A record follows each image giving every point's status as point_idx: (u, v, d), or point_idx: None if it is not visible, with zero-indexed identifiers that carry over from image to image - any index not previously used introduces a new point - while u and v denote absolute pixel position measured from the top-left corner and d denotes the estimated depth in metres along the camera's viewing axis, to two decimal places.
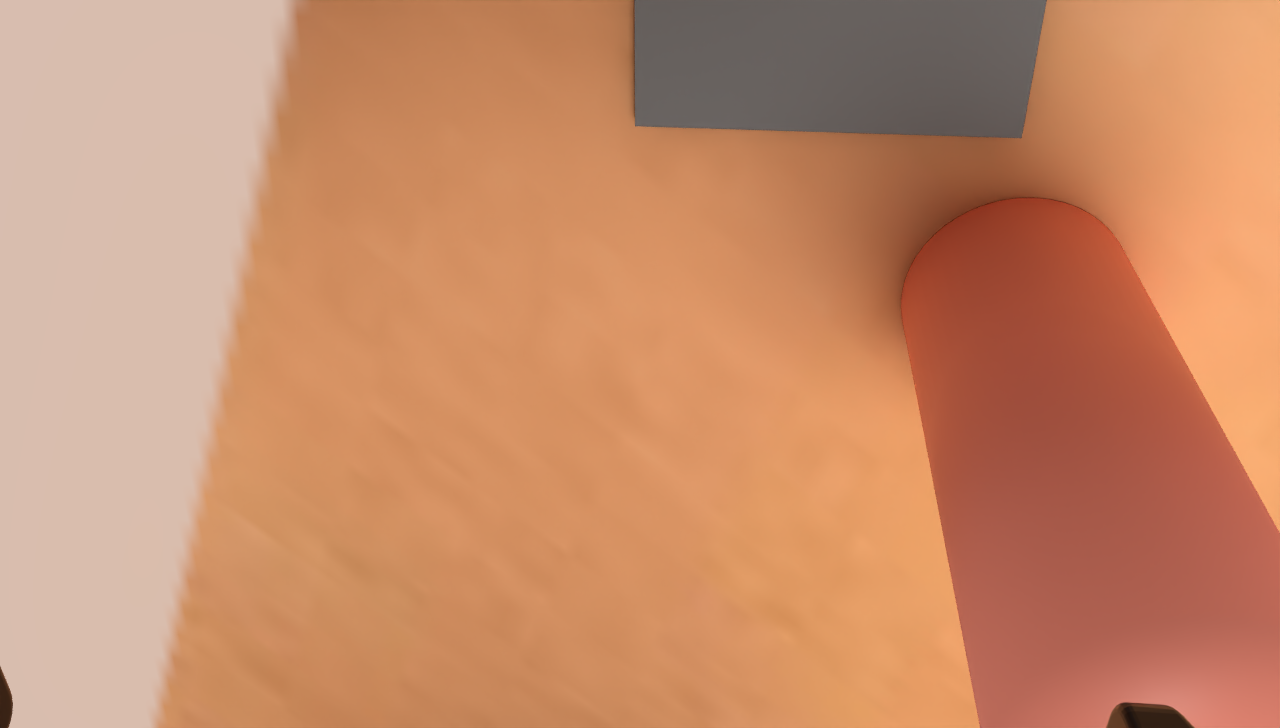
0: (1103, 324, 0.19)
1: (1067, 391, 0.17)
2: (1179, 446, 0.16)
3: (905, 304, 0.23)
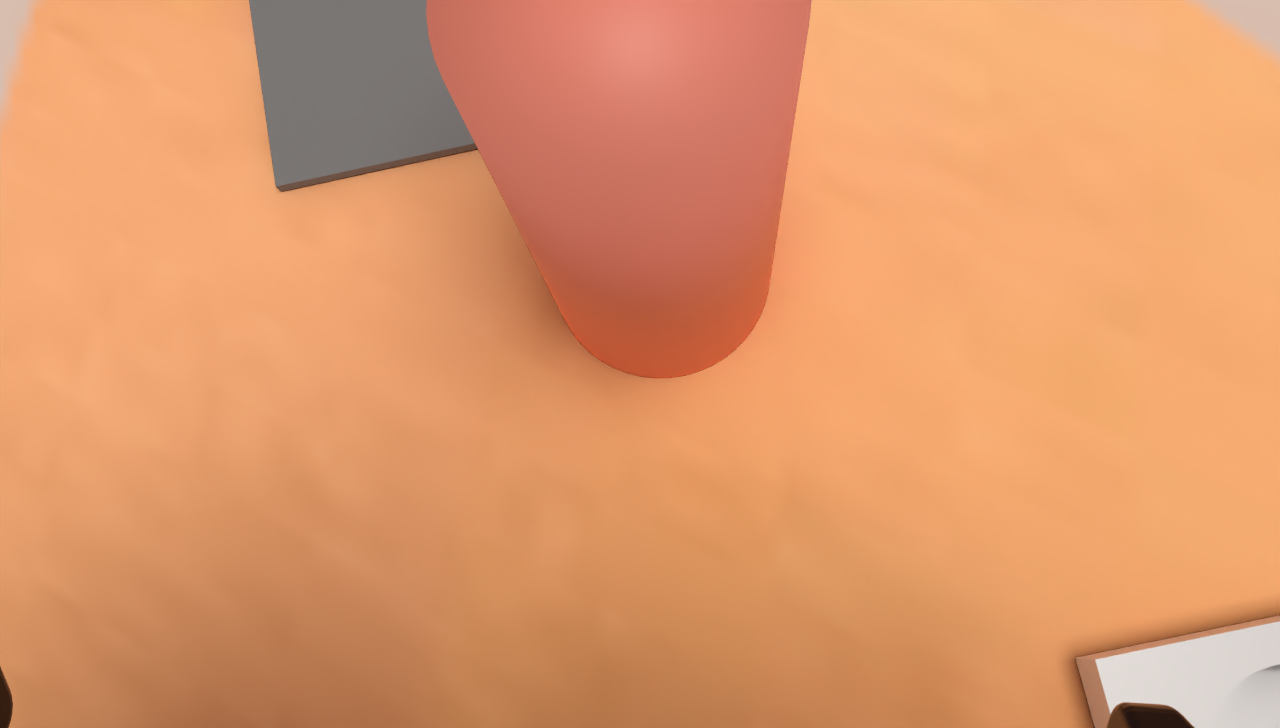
0: None
1: None
2: None
3: None
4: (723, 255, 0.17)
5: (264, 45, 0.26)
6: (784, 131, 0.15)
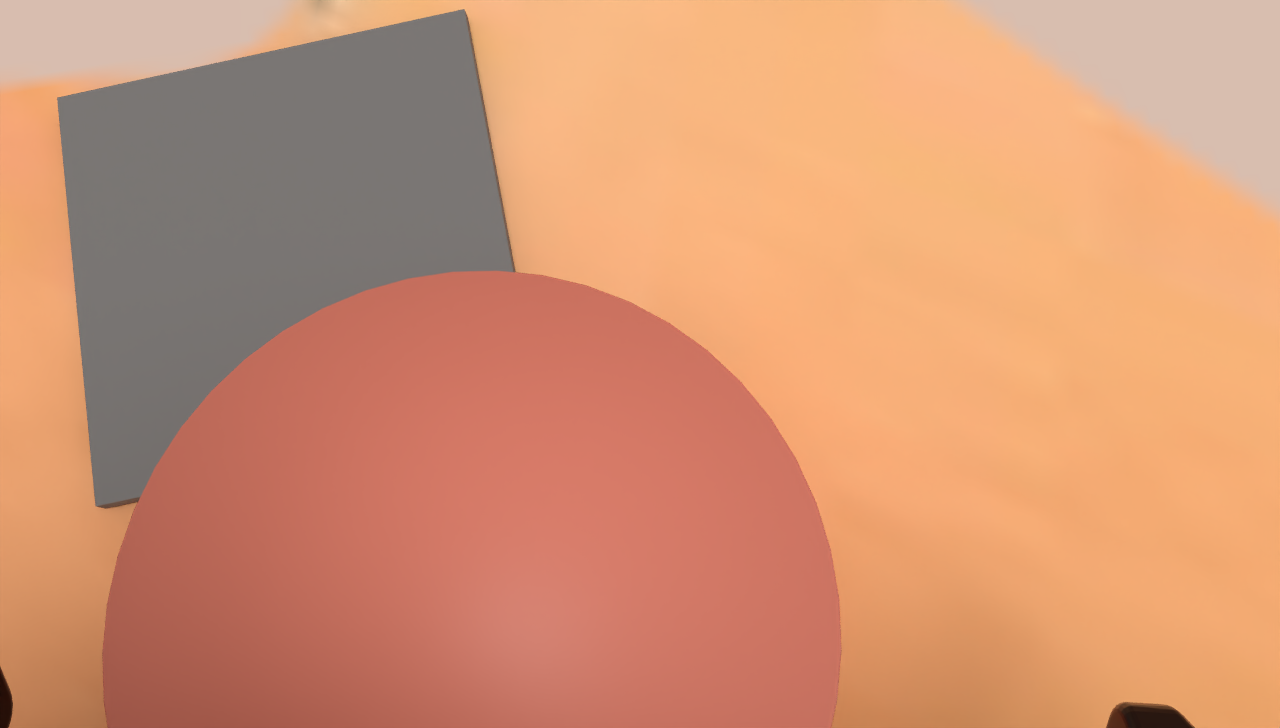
0: None
1: None
2: None
3: None
4: None
5: (88, 306, 0.19)
6: None
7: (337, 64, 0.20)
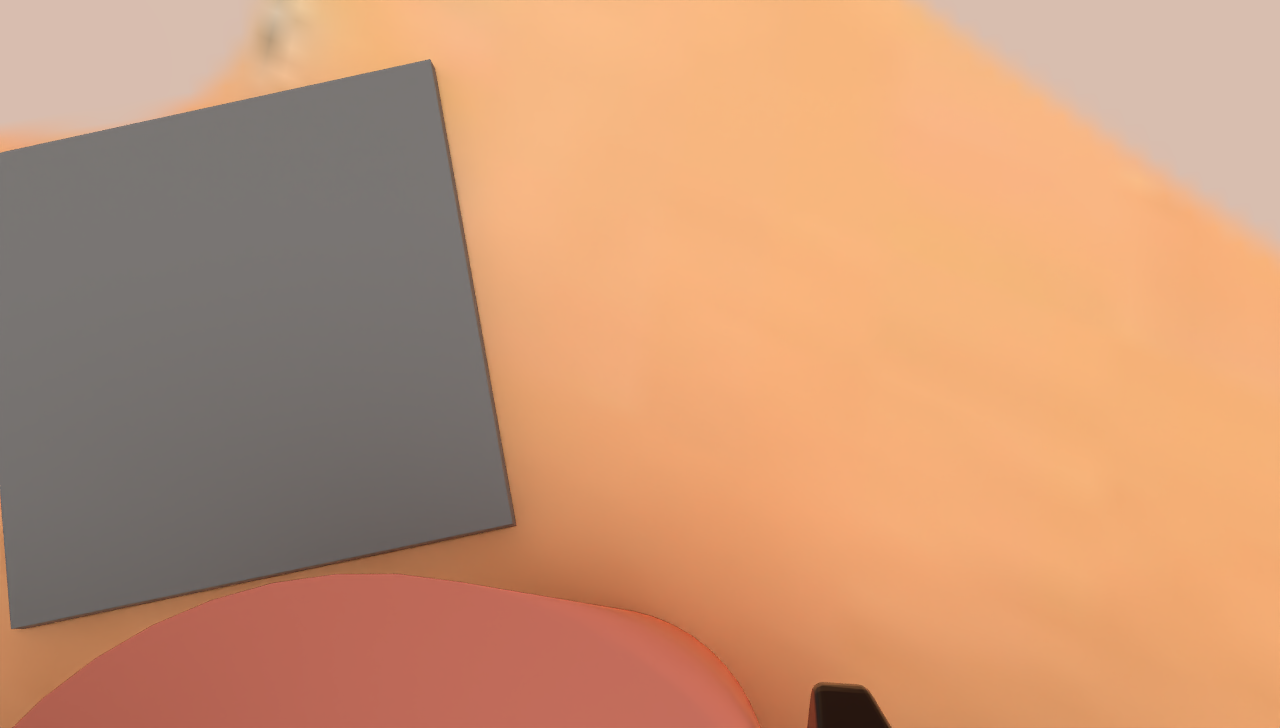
0: None
1: None
2: None
3: None
4: None
5: (5, 397, 0.17)
6: None
7: (287, 121, 0.18)
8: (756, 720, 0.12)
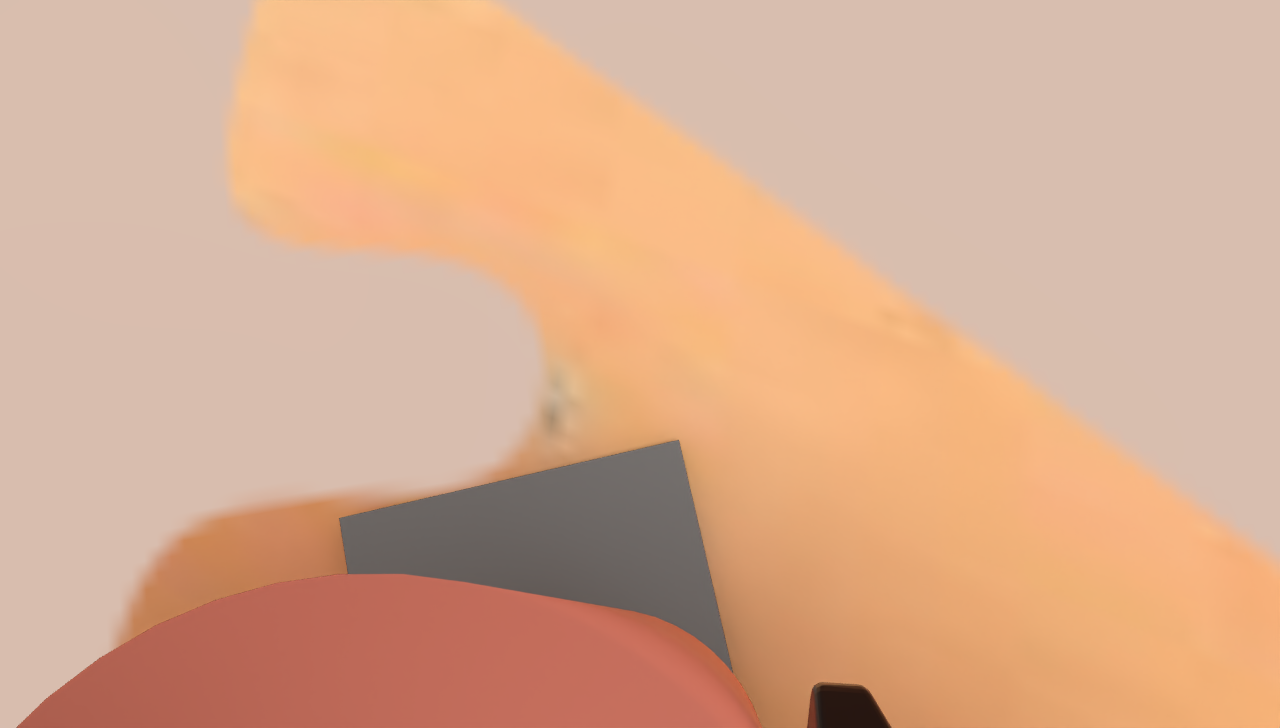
0: None
1: None
2: None
3: None
4: None
5: None
6: None
7: (574, 489, 0.24)
8: (758, 721, 0.12)
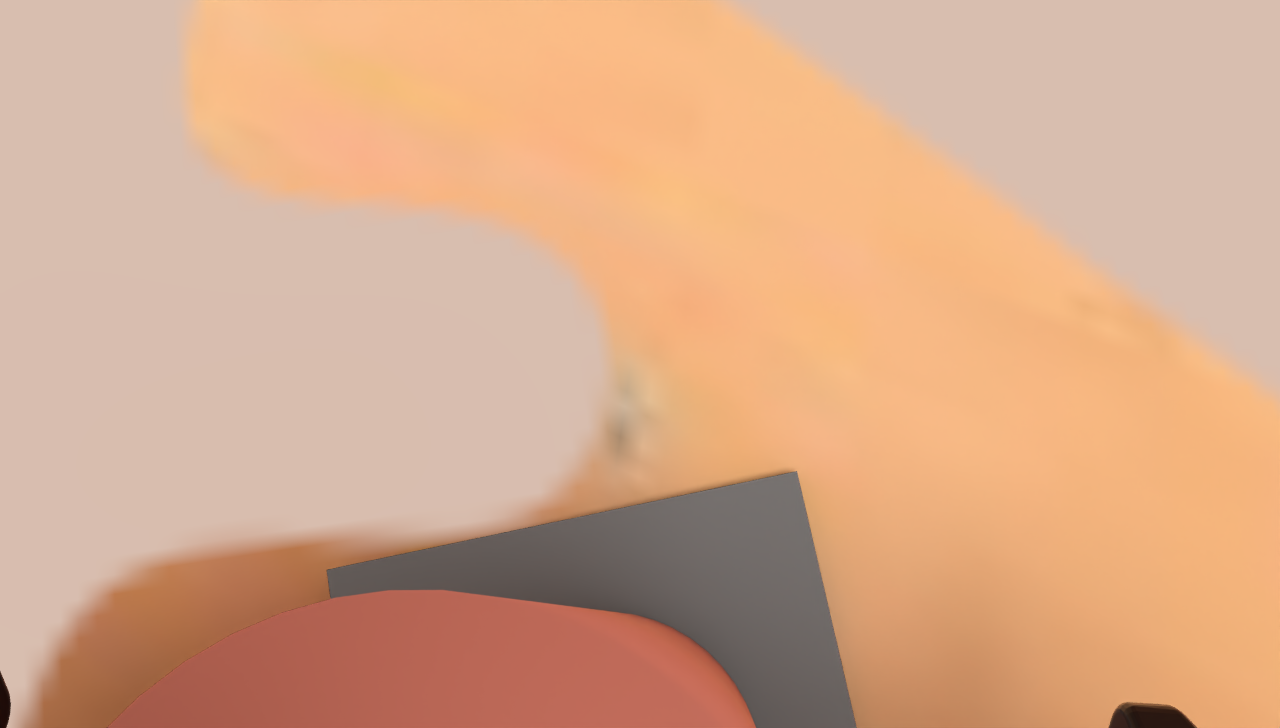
0: None
1: None
2: None
3: None
4: None
5: None
6: None
7: (652, 537, 0.17)
8: (750, 717, 0.13)
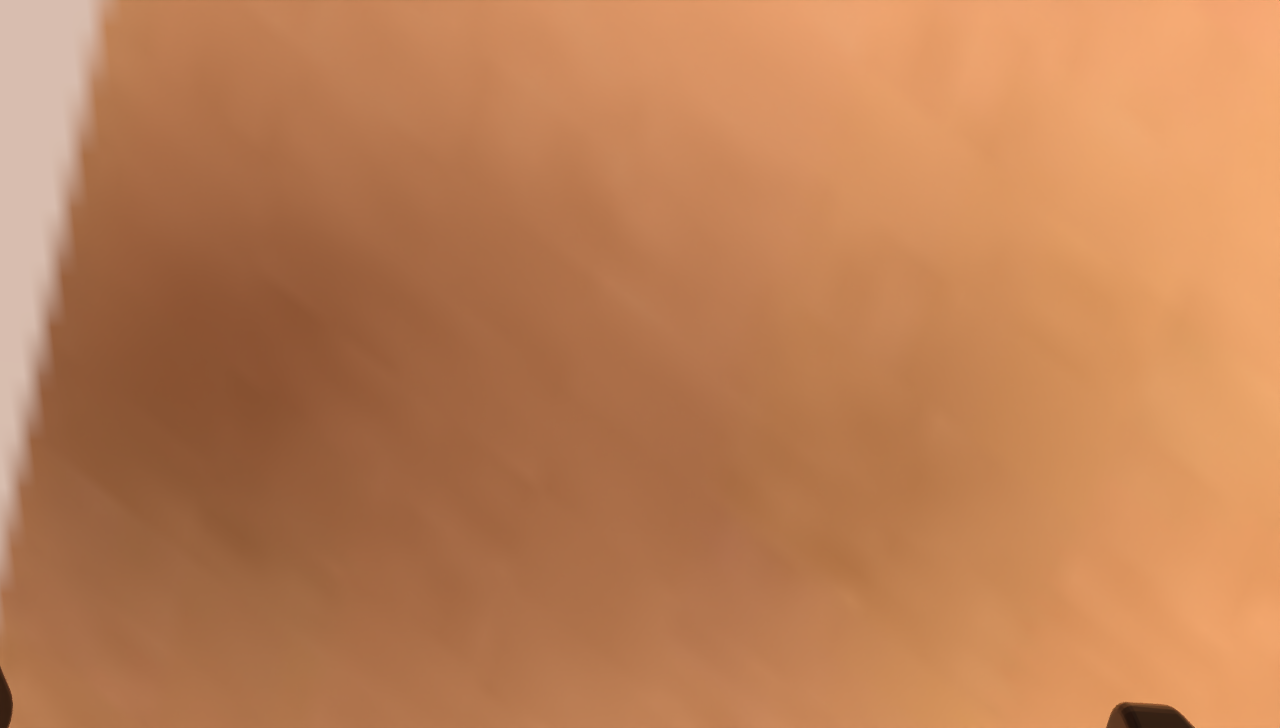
0: None
1: None
2: None
3: None
4: None
5: None
6: None
7: None
8: None
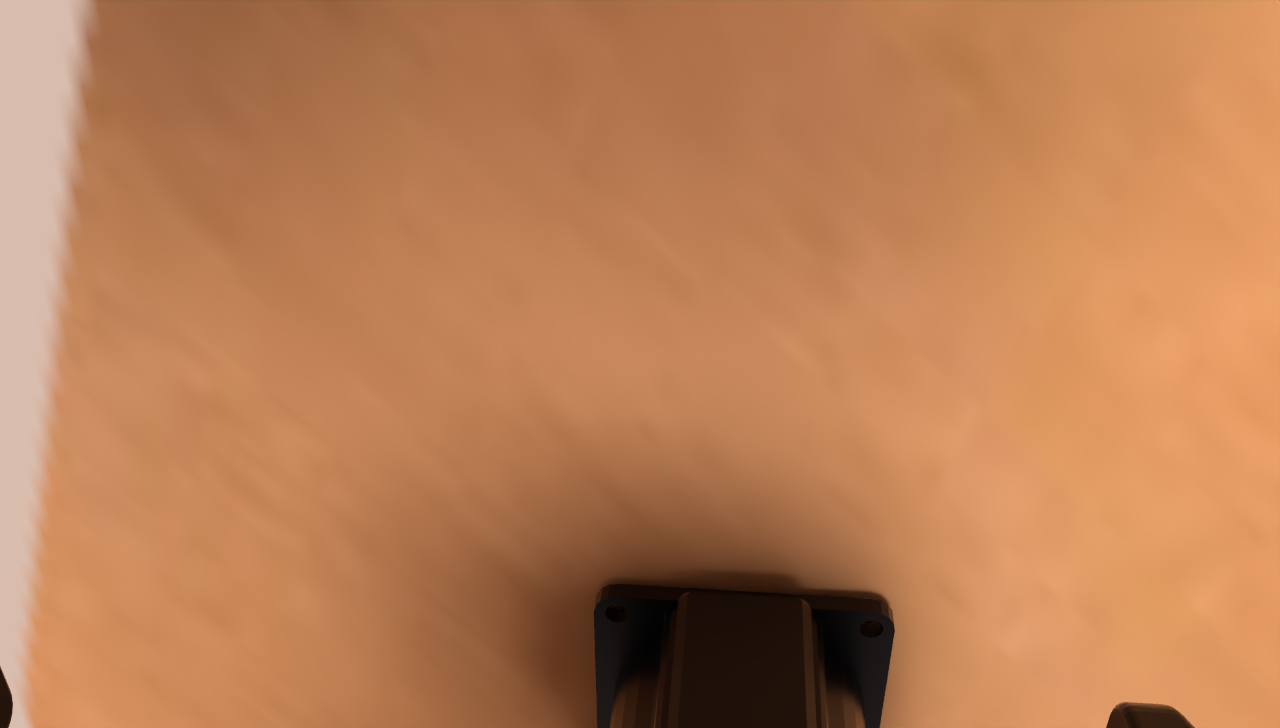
0: None
1: None
2: None
3: None
4: None
5: None
6: None
7: None
8: None
